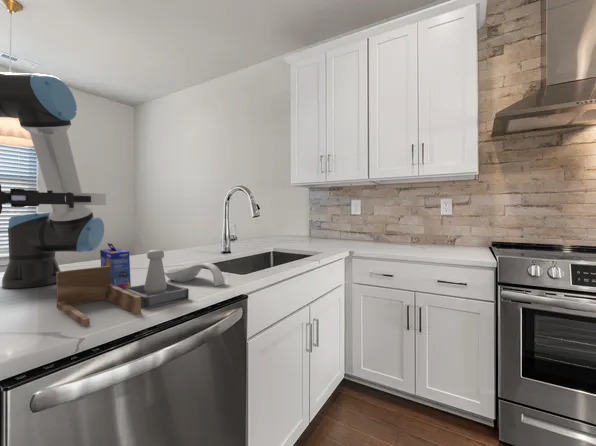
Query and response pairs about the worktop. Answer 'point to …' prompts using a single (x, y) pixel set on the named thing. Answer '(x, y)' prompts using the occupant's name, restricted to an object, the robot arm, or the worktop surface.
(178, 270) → the spoon rest
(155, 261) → the salt shaker
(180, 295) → the tray
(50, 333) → the worktop surface
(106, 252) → the ink cartridge box
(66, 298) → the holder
